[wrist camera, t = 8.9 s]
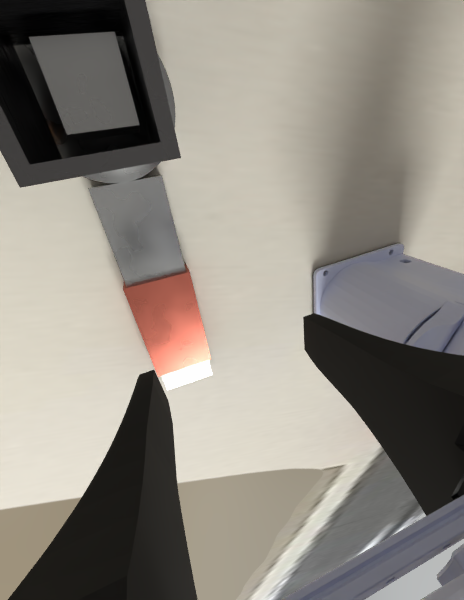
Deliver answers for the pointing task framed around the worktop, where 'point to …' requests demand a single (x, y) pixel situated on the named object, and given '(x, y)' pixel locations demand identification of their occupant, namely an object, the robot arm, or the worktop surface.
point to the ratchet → (123, 188)
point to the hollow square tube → (27, 112)
